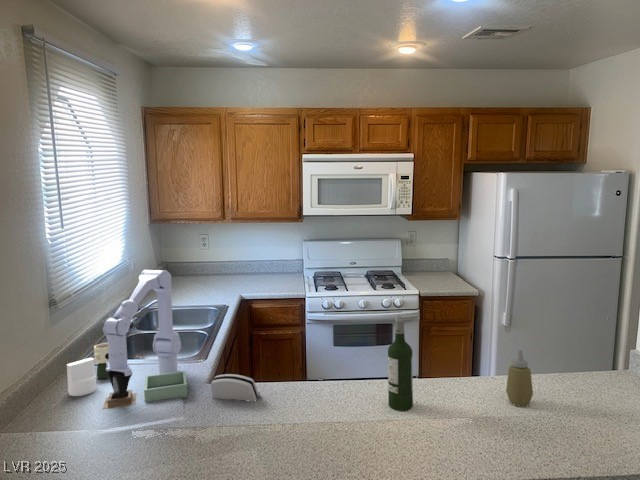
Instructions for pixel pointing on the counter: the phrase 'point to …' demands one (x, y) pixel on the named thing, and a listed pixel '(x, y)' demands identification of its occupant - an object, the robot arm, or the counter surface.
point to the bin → (167, 390)
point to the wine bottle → (400, 370)
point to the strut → (117, 390)
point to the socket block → (120, 400)
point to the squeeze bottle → (519, 381)
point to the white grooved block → (81, 377)
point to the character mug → (101, 359)
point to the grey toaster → (234, 387)
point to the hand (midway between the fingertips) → (120, 391)
